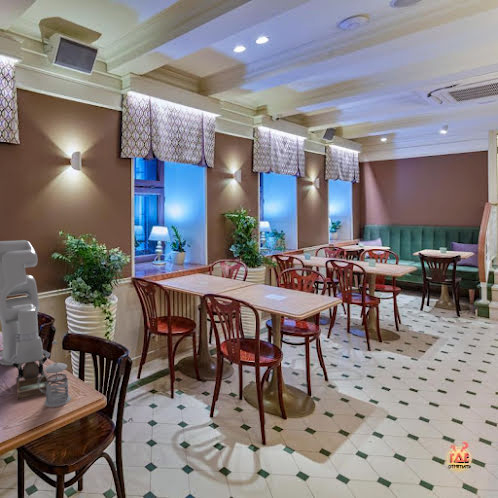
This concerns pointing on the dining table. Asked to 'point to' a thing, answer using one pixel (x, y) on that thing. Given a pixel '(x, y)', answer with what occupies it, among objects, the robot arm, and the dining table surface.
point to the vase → (30, 370)
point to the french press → (54, 396)
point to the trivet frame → (39, 372)
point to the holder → (31, 387)
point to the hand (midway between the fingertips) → (31, 373)
